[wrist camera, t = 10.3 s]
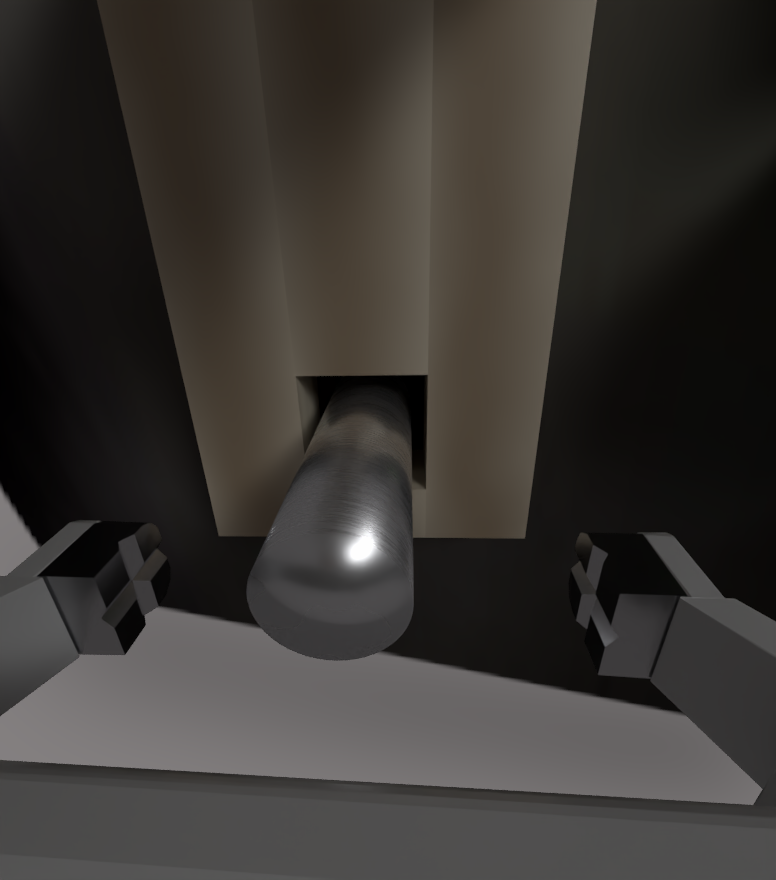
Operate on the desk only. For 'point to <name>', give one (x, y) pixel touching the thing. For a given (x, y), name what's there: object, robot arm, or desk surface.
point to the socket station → (358, 226)
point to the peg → (344, 531)
